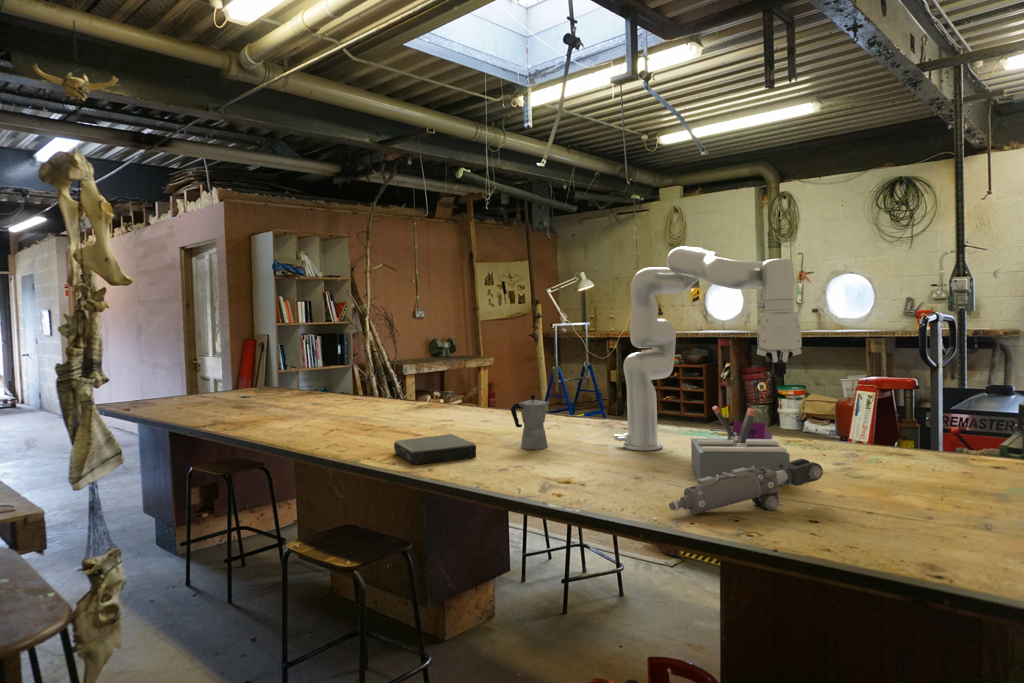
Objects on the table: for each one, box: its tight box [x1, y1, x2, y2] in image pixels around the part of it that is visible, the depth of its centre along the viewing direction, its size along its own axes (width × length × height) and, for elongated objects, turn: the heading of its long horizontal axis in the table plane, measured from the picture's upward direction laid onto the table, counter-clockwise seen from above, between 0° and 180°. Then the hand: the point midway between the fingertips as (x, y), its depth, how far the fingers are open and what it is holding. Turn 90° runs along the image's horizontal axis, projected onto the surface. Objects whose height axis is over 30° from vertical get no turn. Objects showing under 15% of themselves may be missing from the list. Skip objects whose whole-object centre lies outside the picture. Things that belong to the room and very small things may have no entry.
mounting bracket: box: [732, 421, 773, 440], centre depth 202 cm, size 9×8×18 cm
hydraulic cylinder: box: [668, 458, 824, 515], centre depth 142 cm, size 7×37×10 cm, turn 102°
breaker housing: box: [690, 405, 791, 486], centre depth 170 cm, size 22×19×18 cm
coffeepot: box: [510, 393, 550, 451], centre depth 212 cm, size 15×9×18 cm, turn 122°
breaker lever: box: [736, 407, 756, 445], centre depth 165 cm, size 1×4×11 cm, turn 170°
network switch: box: [393, 433, 477, 466], centre depth 204 cm, size 23×24×5 cm
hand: (779, 377), depth 163 cm, fingers closed
